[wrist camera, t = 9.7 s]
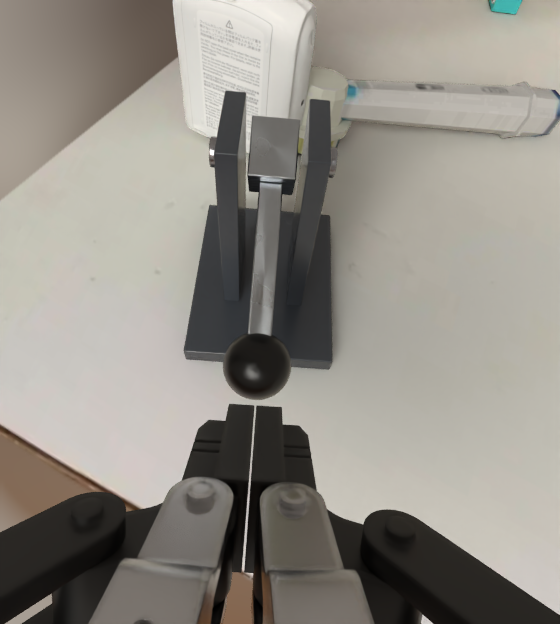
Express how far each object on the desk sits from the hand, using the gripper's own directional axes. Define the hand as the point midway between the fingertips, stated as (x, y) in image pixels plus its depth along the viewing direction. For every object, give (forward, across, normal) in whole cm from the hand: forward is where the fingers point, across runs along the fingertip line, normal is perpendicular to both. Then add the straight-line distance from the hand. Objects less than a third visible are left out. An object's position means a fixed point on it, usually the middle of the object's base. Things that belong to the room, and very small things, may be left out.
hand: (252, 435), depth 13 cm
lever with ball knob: (+11, 0, -3) cm, 12 cm away
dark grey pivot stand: (+19, 0, -1) cm, 19 cm away
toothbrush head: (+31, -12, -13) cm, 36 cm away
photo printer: (+30, +3, -12) cm, 32 cm away
